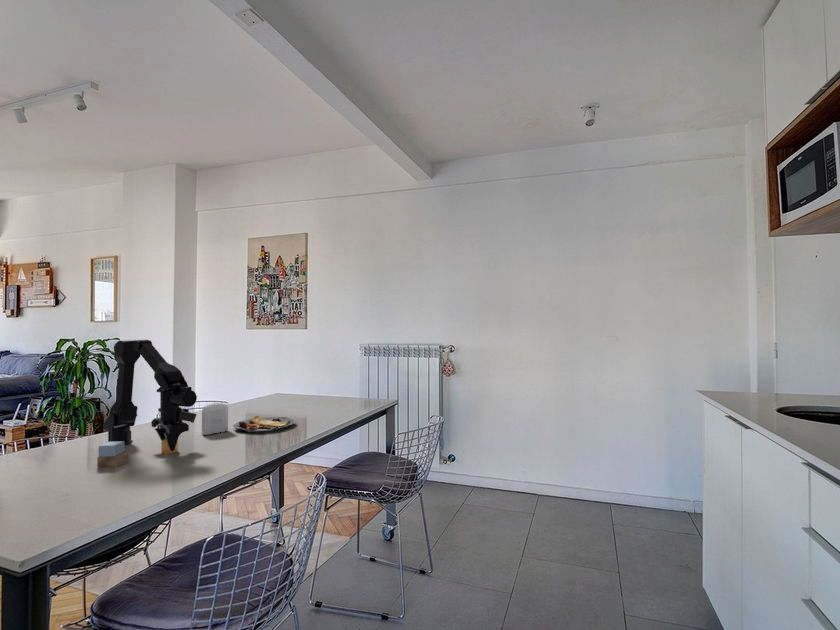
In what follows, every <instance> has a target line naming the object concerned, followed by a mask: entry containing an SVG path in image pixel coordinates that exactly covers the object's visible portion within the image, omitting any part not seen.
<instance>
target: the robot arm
mask: <svg viewBox="0 0 840 630" xmlns="http://www.w3.org/2000/svg"><path fill="white" fill-rule="evenodd" d="M113 350H114V351H113V352H114V358H115V359H116V361H117V362H118V371H117V372H118V374H117V386H116V396H115V397H116V398H115V399H116V400H115V402H114V403H113V405H112V406H111V407H110V409H109V413H108V416H107V418H106V419H105V421H104V423H102V426H103V430H104V431H107V433H108V434H107V442H116V441H125V443H124V446H126V445H128V444H130V443H132V442H133V440H132V430H131V427H134V426H135V425H136V421H137V417H138V406H137V405H135V404H134V402H133V388H134V375H135V367H136V366H135V365H136V363H137V362H138V360H139V359H140V357H142V358H143V360H144V361H145V362H146V363H147V365H149V368H151V369H152V371H153V372H154V375H153V378H154V379H155V381H156V383H157V385H158V386H159V387H158V388H157V389H156V393H159V394H160V395H159V397H160V398H159V399H160V401H159V402H160V407H158V408H157V409H158V412H160V416H159V417H155V418H153V419H152V420H151V427H152V428H154V430H155V432H156V434H157V435H158V437H159V439H160V441H161V442H162V440H163V439H166V440H167V443H168V445H169V448H170V450H171V451H174V450H175V447H176V443H177V440H178V441H179V437H180V436H181V434H183V433H184V432H185V433H186V432H189V430H190V429H189V428H190V427H189V424H188V423H186V422H189V423H195V420H196V417H197V415H198V414H197V413H194V412H190V410H189V408H190V407H193V406H194V405H195V404H196V402H197V398H198V395H197V393H196V392H195V391H194V390H192V386H189V385H188V382H187V381H186V379H185V377H184V375H183V373H182V371H181V370H180V369H179V368H178V367H177V366H175V365H173V364H171V363H169V362H167V361H166V360H165V358H164V357H163V356H162V355H161V353H160V352H159V351H158V350H157V348H156V347H155V346H154V345H153V343H152V340H150V339H128V340H127V339H126V340H124V339H121V340H118V341H116V343H115V344H114V346H113ZM182 407H185V408H182ZM187 408H188V409H187ZM184 421H185V422H184Z"/></svg>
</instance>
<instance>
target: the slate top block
mask: <svg viewBox="0 0 840 630" xmlns="http://www.w3.org/2000/svg"><path fill="white" fill-rule="evenodd" d="M124 443H125V441H116V442H108V441H107V442H105V443H102V444H100V445H98V457H114V456H117V455H119V454H121V453H123V452H124V451H125V445H124Z"/></svg>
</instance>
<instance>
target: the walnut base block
mask: <svg viewBox="0 0 840 630" xmlns="http://www.w3.org/2000/svg"><path fill="white" fill-rule="evenodd" d="M96 460H97V462H96V463H97V464H96V465H97V466H96V467H99V468H117V466H118V467H120V466H121V464H122V465H124V464H125V462H126V463H128V462H129V451H128V450H127V451H125V450H124V452H123V453H121V454H119V455H117V456H114V457H99V456H98V457H96ZM127 461H128V462H127ZM123 463H124V464H123ZM119 465H120V466H119Z"/></svg>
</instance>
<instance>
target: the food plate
mask: <svg viewBox="0 0 840 630" xmlns="http://www.w3.org/2000/svg"><path fill="white" fill-rule="evenodd" d="M295 423H296V420H295V419H292V418H289V417H286V416H285V417H284V416H281V417H280V416H274V417H273V416H271V417H270V416H267V417H265V416H264V417H260V416H259V415H255V416H253V418H250V419H249V418H248V419H245V420H241V421H238V422H236V423H235V424H234V425H233V428H234V429H239V430H242V431H244V432H247V433H258V432H259V433H262V432H263V433H264V431H266V432H273V431H277V430H280V429H283V428H287V427H288V426H291V425H294V424H295ZM260 426H261V427H260ZM278 427H280V428H278ZM257 429H267V430H257Z"/></svg>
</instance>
